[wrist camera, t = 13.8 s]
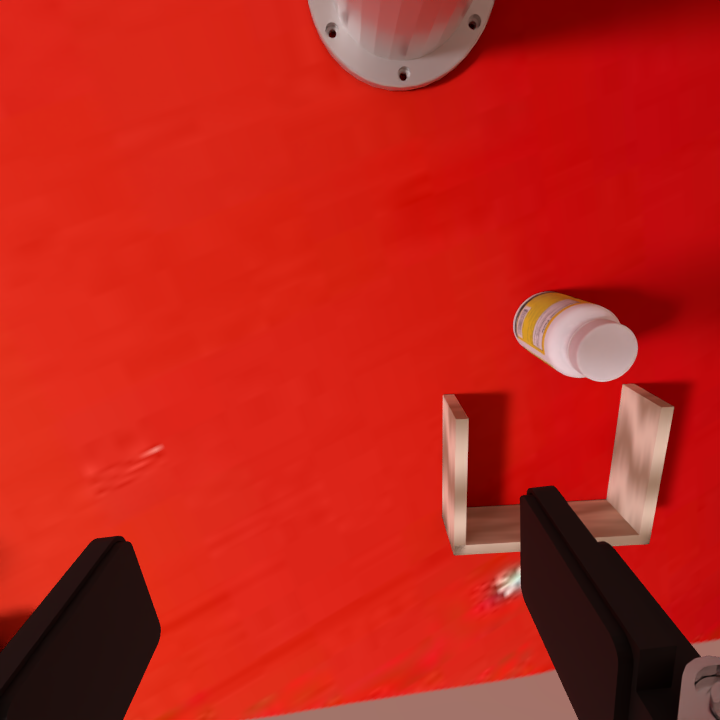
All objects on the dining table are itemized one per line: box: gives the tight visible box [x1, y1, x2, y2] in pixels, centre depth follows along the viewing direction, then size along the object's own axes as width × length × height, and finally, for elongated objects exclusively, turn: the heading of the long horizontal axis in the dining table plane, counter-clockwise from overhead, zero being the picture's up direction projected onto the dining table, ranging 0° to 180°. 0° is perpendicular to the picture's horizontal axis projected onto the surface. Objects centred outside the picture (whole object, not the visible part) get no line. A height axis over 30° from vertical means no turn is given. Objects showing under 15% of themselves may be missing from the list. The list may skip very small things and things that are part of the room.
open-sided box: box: [442, 384, 674, 555], centre depth 38 cm, size 13×17×5 cm
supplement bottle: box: [513, 291, 638, 382], centre depth 32 cm, size 5×5×10 cm
